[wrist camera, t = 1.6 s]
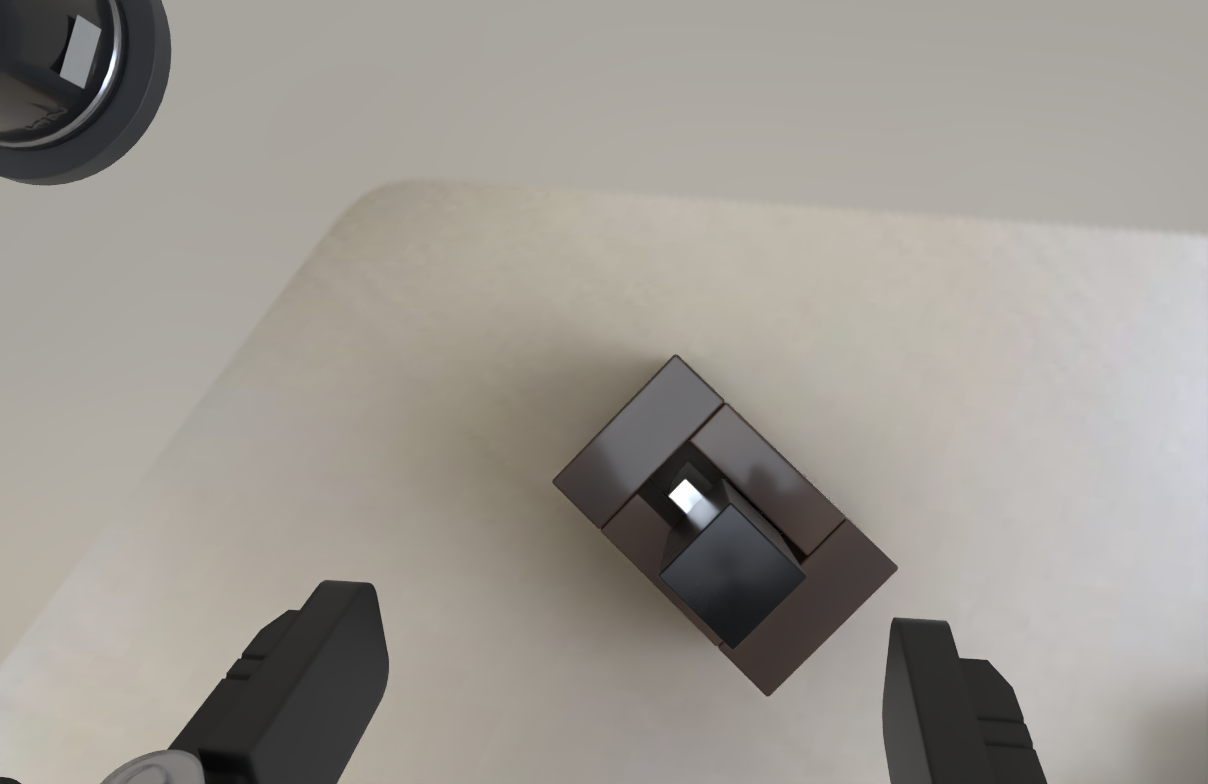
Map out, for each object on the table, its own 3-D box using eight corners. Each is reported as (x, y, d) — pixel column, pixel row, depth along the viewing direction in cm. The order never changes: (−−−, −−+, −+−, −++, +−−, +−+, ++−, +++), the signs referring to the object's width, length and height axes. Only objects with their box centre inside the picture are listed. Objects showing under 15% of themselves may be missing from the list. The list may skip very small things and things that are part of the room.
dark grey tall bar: (660, 490, 35) (631, 551, 20) (702, 447, 35) (705, 476, 20) (732, 561, 35) (758, 677, 20) (775, 518, 35) (834, 602, 20)
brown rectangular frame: (575, 469, 35) (550, 482, 30) (679, 362, 35) (675, 352, 29) (755, 648, 35) (768, 698, 29) (864, 540, 34) (899, 568, 28)
